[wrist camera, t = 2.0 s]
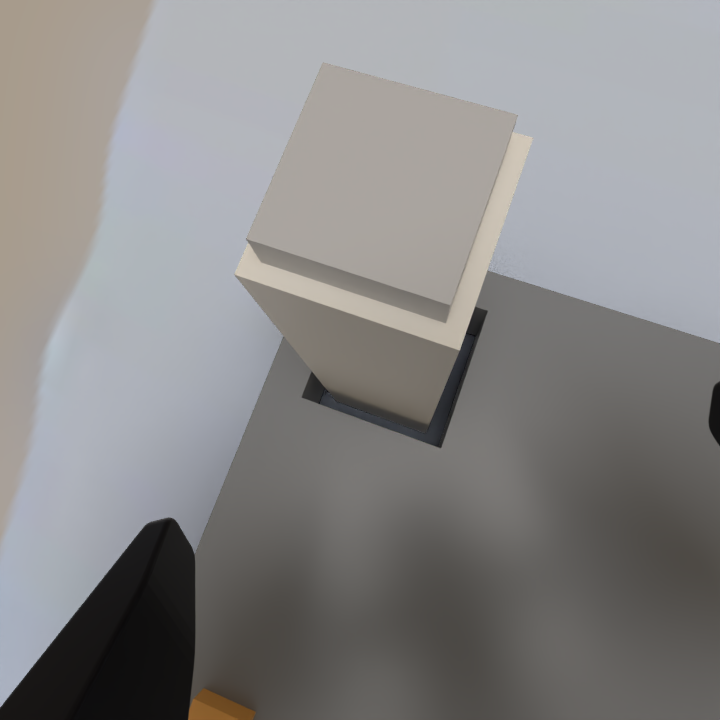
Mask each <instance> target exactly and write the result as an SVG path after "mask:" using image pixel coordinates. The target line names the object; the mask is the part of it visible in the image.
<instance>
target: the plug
mask: <svg viewBox="0 0 720 720" xmlns="http://www.w3.org/2000/svg"><path fill="white" fill-rule="evenodd" d="M517 116H518V115H516V114H512V113H509V112H505V111H501V110H498V109H494V108H490V107H486V106H483V105H479V104H475V103H472V102H468V101H464V100H460V99H457V98H453V97H449V96H446V95H442V94H438V93H434V92H431V91H427V90H423V89H420V88H416V87H412V86H408V85H405V84H401V83H397V82H394V81H390V80H386V79H383V78H379V77H375V76H371V75H368V74H364V73H360V72H357V71H353V70H349V69H345V68H342V67H338V66H334V65H331V64H327V63H322V66H321V68H320V70H319V73H318V75H317V77H316V79H315V82H314V84H313V86H312V89H311V91H310V93H309V96H308V98H307V100H306V102H305V105H304V107H303V109H302V112H301V114H300V116H299V119H298V121H297V123H296V125H295V128H294V130H293V132H292V135H291V137H290V139H289V141H288V144H287V146H286V148H285V151H284V153H283V155H282V158H281V160H280V162H279V164H278V167H277V169H276V171H275V174H274V176H273V178H272V181H271V183H270V185H269V187H268V190H267V192H266V194H265V197H264V199H263V201H262V203H261V206H260V208H259V210H258V213H257V215H256V217H255V220H254V222H253V224H252V226H251V229H250V231H249V233H248V236H247V238H246V240H247V241H248V244H247V247H246V249H245V251H244V253H243V256H242V258H241V260H240V263H239V265H238V267H237V270H236V272H235V274H234V275H235V276H236V277H237V278H238V280H239V281H240V282H241V283H242V285H243V286H244V287H245V288H246V290H247V291H248V292H249V293H250V295H251V296H252V297H253V298H254V300H255V301H256V302H257V303H258V305H259V306H260V307H261V308H262V310H263V311H264V312H265V313H266V315H267V316H268V317H269V318H270V320H271V321H272V322H273V323H274V325H275V326H276V327H277V328H278V330H279V331H280V332H281V333H282V335H283V336H284V337H285V338H286V340H287V341H288V342H289V343H290V345H291V346H292V347H293V348H294V350H295V351H296V352H297V353H298V355H299V356H300V357H301V358H302V360H303V361H304V362H305V363H306V365H307V366H308V367H309V368H310V370H311V371H312V372H313V373H314V375H315V376H316V377H317V378H318V380H319V381H320V382H321V383H322V385H323V386H324V387H325V388H326V390H327V391H328V392H329V393H330V395H331V396H332V397H333V398H334V400H335V401H337V402H340V403H343V404H345V405H348V406H351V407H354V408H356V409H359V410H362V411H365V412H367V413H370V414H373V415H376V416H378V417H381V418H384V419H387V420H389V421H392V422H395V423H398V424H401V425H403V426H406V427H409V428H412V429H414V430H417V431H420V432H423V433H425V434H426V432H427V429H428V427H429V424H430V422H431V419H432V417H433V415H434V412H435V410H436V407H437V405H438V402H439V400H440V398H441V395H442V393H443V390H444V388H445V385H446V383H447V380H448V378H449V376H450V373H451V371H452V368H453V366H454V363H455V361H456V359H457V356H458V354H459V351H460V348H461V346H462V343H463V340H464V337H465V334H466V331H467V328H468V325H469V322H470V320H471V317H472V314H473V311H474V308H475V305H476V302H477V299H478V296H479V293H480V291H481V288H482V285H483V282H484V279H485V276H486V273H487V270H488V267H489V265H490V262H491V259H492V256H493V253H494V250H495V247H496V244H497V241H498V239H499V236H500V233H501V230H502V227H503V224H504V221H505V218H506V215H507V212H508V210H509V207H510V204H511V201H512V198H513V195H514V192H515V189H516V186H517V184H518V181H519V178H520V175H521V172H522V169H523V166H524V163H525V160H526V158H527V155H528V152H529V149H530V146H531V143H532V140H533V138H532V137H528V136H525V135H521V134H517V133H514V132H513V129H514V126H515V123H516V120H517Z"/></svg>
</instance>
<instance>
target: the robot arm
mask: <svg viewBox="0 0 720 720" xmlns="http://www.w3.org/2000/svg"><path fill="white" fill-rule="evenodd" d="M708 424H709V429H710V431H711V434H712V436H713V437H714V439H715V440H716V442H717V443H718V445H719V446H720V381H719V382H717V383H716V384H715V385H714V387H713V391H712V397H711V404H710V411H709V418H708ZM195 639H196V612H195V556H194V552H193V549H192V547H191V545H190V543H189V542H188V540H187V538H186V537H185V535H184V533H183V532H182V530H181V528H180V526H179V525H178V523H177V522H176V520H174V519H173V518H165V519H161V520H157V521H153V522H150V523H148V524H146V525H145V526H144V527H143V529H142V530H141V531H140V532H139V534H138V535H137V536H136V537H135V539H134V540H133V541H132V543H131V544H130V545H129V546H128V548H127V549H126V550H125V551H124V553H123V554H122V555H121V556H120V558H119V559H118V560H117V561H116V563H115V564H114V565H113V566H112V568H111V569H110V570H109V571H108V573H107V574H106V575H105V576H104V578H103V579H102V580H101V581H100V583H99V584H98V585H97V587H96V588H95V589H94V590H93V592H92V593H91V594H90V595H89V597H88V598H87V599H86V600H85V602H84V603H83V604H82V605H81V607H80V608H79V609H78V610H77V612H76V613H75V614H74V615H73V617H72V618H71V619H70V620H69V622H68V623H67V624H66V626H65V627H64V628H63V629H62V631H61V632H60V633H59V634H58V636H57V637H56V638H55V639H54V641H53V642H52V643H51V644H50V646H49V647H48V648H47V649H46V651H45V652H44V653H43V654H42V656H41V657H40V658H39V659H38V661H37V662H36V663H35V664H34V666H33V667H32V668H31V670H30V671H29V672H28V673H27V675H26V676H25V677H24V678H23V680H22V681H21V682H20V683H19V685H18V686H17V687H16V688H15V690H14V691H13V692H12V693H11V695H10V696H9V697H8V698H7V700H6V701H5V702H4V703H3V705H2V706H1V707H0V720H188V718H189V708H190V699H191V690H192V681H193V671H194V660H195Z"/></svg>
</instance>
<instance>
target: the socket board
mask: <svg viewBox="0 0 720 720" xmlns="http://www.w3.org/2000/svg"><path fill="white" fill-rule="evenodd" d="M466 333H469V334H472V335H475V336H476V337H475V340H474V343H473V346H472V349H471V352H470V355H469V358H468V361H467V364H466V366H465V369H464V372H463V375H462V378H461V381H460V384H459V387H458V390H457V393H456V396H455V399H454V402H453V405H452V407H451V410H450V413H449V416H448V419H447V422H446V425H445V428H444V431H443V434H442V437H441V440H440V443H439V445H438V447H436V446H433V445H430V444H428V443H425V442H422V441H419V440H417V439H414V438H411V437H408V436H406V435H403V434H400V433H397V432H395V431H392V430H389V429H386V428H384V427H381V426H378V425H375V424H373V423H370V422H367V421H364V420H362V419H359V418H356V417H354V416H351V415H348V414H345V413H343V412H340V411H337V410H334V409H332V408H329V407H326V406H323V405H321V404H319V401H320V398H321V396H322V393H323V391H324V388H325V387H324V386H323V385H322V383H321V382H320V381H319V380H318V378H317V377H316V376H315V375H314V373H313V372H312V371H311V370H310V368H309V367H308V366H307V365H306V363H305V362H304V361H303V360H302V358H301V357H300V356H299V355H298V353H297V352H296V351H295V350H294V348H293V347H292V346H291V345H290V343H289V342H288V341H287V340H286V338H285V337H283V339H282V342H281V344H280V347H279V349H278V351H277V354H276V356H275V359H274V361H273V364H272V366H271V369H270V371H269V374H268V376H267V378H266V381H265V383H264V386H263V388H262V391H261V393H260V396H259V398H258V401H257V403H256V405H255V408H254V410H253V413H252V415H251V418H250V420H249V423H248V425H247V427H246V430H245V432H244V435H243V437H242V440H241V442H240V445H239V447H238V450H237V452H236V454H235V457H234V459H233V462H232V464H231V467H230V469H229V472H228V474H227V477H226V479H225V481H224V484H223V486H222V489H221V491H220V494H219V496H218V499H217V501H216V504H215V506H214V508H213V511H212V513H211V516H210V518H209V521H208V523H207V526H206V528H205V531H204V533H203V535H202V538H201V540H200V543H199V545H198V548H197V550H196V553H195V555H194V556H195V612H196V639H195V660H194V671H193V681H192V690H191V699H190V708H189V718H188V720H720V446H719V445H718V443H717V442H716V440H715V439H714V437H713V436H712V434H711V431H710V429H709V424H708V418H709V411H710V404H711V397H712V391H713V387H714V385H715V384H716V383H717V382H719V381H720V343H717V342H713V341H710V340H707V339H704V338H701V337H697V336H694V335H691V334H688V333H685V332H681V331H678V330H675V329H672V328H669V327H666V326H662V325H659V324H656V323H653V322H650V321H646V320H643V319H640V318H637V317H634V316H630V315H627V314H624V313H621V312H618V311H614V310H611V309H608V308H605V307H602V306H599V305H595V304H592V303H589V302H586V301H583V300H579V299H576V298H573V297H570V296H567V295H563V294H560V293H557V292H554V291H551V290H547V289H544V288H541V287H538V286H535V285H532V284H528V283H525V282H522V281H519V280H516V279H512V278H509V277H506V276H503V275H500V274H496V273H493V272H490V271H487V273H486V276H485V279H484V282H483V285H482V288H481V291H480V293H479V296H478V299H477V302H476V305H475V308H474V311H473V314H472V317H471V320H470V322H469V325H468V328H467V331H466Z"/></svg>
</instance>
